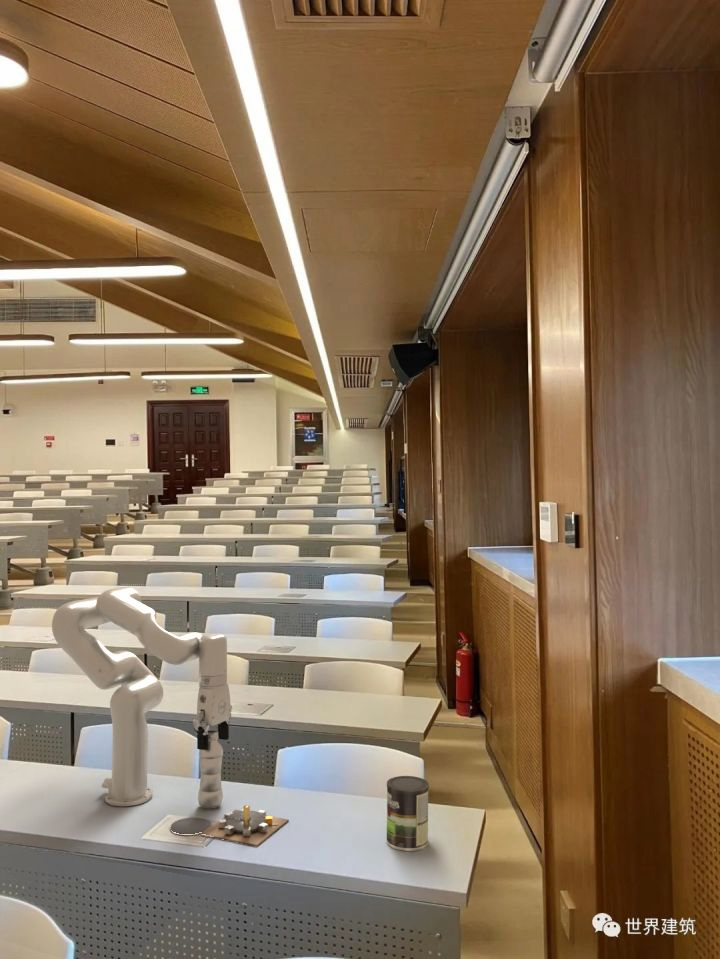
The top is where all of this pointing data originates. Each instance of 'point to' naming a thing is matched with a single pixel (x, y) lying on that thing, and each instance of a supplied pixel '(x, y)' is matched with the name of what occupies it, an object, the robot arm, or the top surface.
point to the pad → (190, 825)
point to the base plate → (254, 837)
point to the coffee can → (407, 813)
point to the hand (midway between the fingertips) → (213, 744)
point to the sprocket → (245, 821)
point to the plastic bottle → (211, 773)
